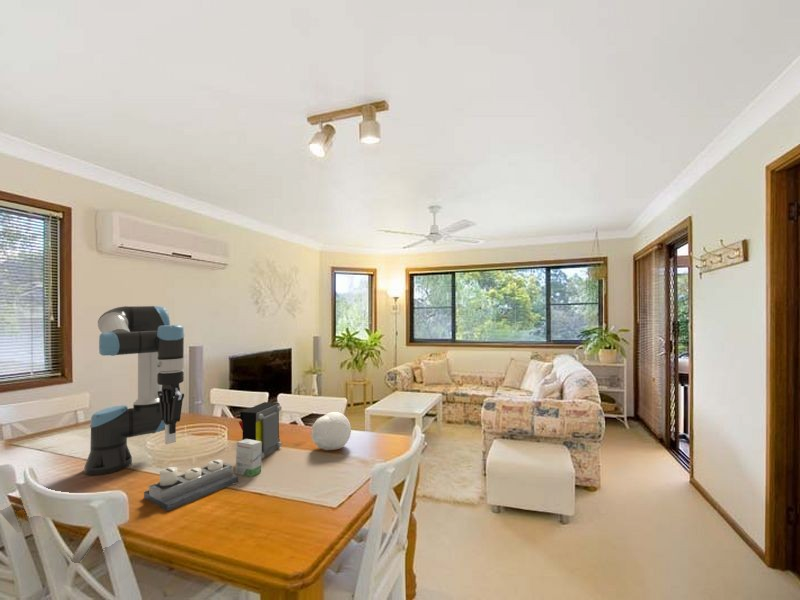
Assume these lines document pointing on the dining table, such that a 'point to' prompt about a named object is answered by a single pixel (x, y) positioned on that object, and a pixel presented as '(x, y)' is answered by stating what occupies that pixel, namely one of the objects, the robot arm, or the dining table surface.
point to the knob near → (168, 476)
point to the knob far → (215, 465)
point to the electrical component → (262, 425)
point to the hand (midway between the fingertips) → (170, 442)
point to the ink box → (248, 457)
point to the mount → (190, 487)
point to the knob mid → (192, 473)
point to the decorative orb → (331, 431)
